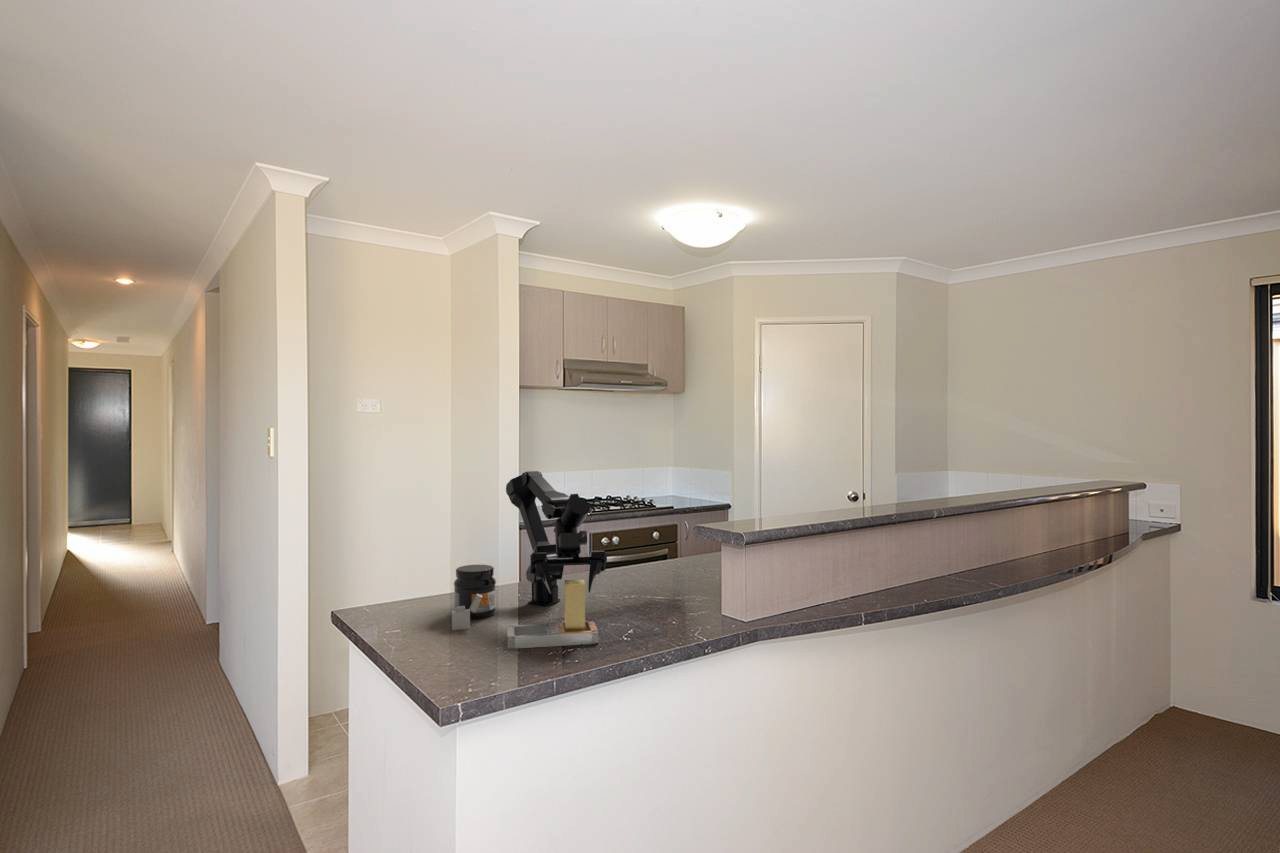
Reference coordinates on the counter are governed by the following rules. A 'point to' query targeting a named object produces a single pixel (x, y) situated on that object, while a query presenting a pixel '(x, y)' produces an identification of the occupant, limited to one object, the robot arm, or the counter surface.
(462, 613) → the lighter
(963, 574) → the counter surface
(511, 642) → the divided tray
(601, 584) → the counter surface
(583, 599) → the tan block
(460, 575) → the supplement container
